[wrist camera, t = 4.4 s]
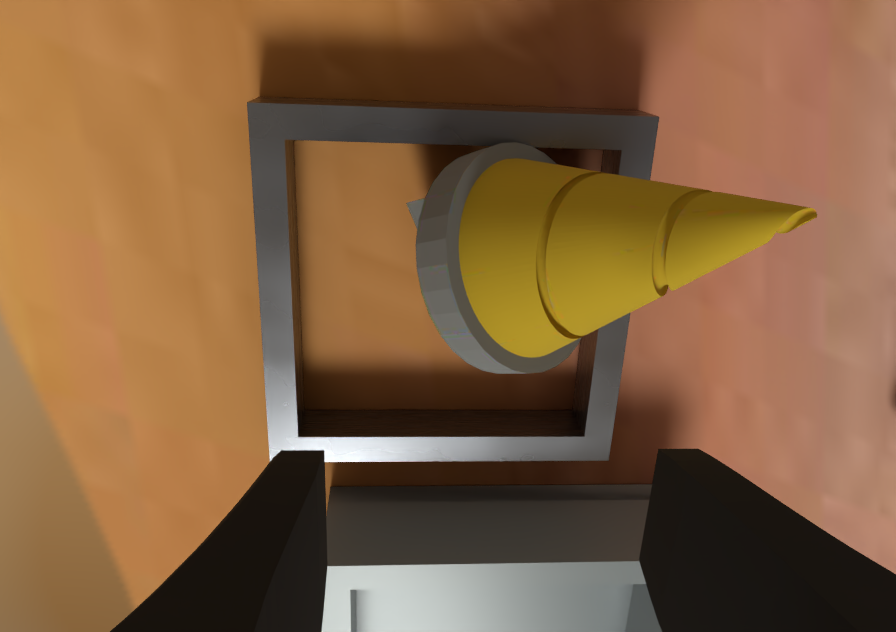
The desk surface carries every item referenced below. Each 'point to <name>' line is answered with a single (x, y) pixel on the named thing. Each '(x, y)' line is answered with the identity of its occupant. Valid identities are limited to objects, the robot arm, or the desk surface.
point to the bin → (487, 559)
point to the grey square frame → (279, 289)
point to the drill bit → (565, 250)
